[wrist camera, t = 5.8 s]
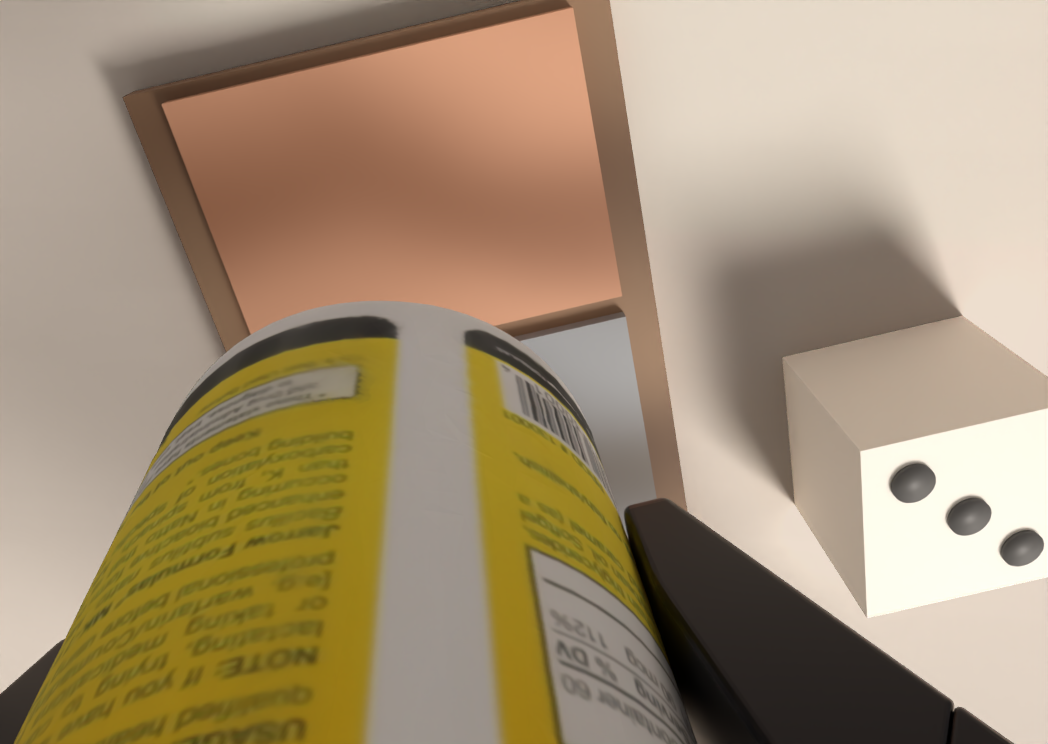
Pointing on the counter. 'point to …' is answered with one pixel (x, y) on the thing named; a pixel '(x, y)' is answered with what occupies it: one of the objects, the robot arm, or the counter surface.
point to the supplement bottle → (368, 557)
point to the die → (921, 463)
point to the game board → (436, 200)
